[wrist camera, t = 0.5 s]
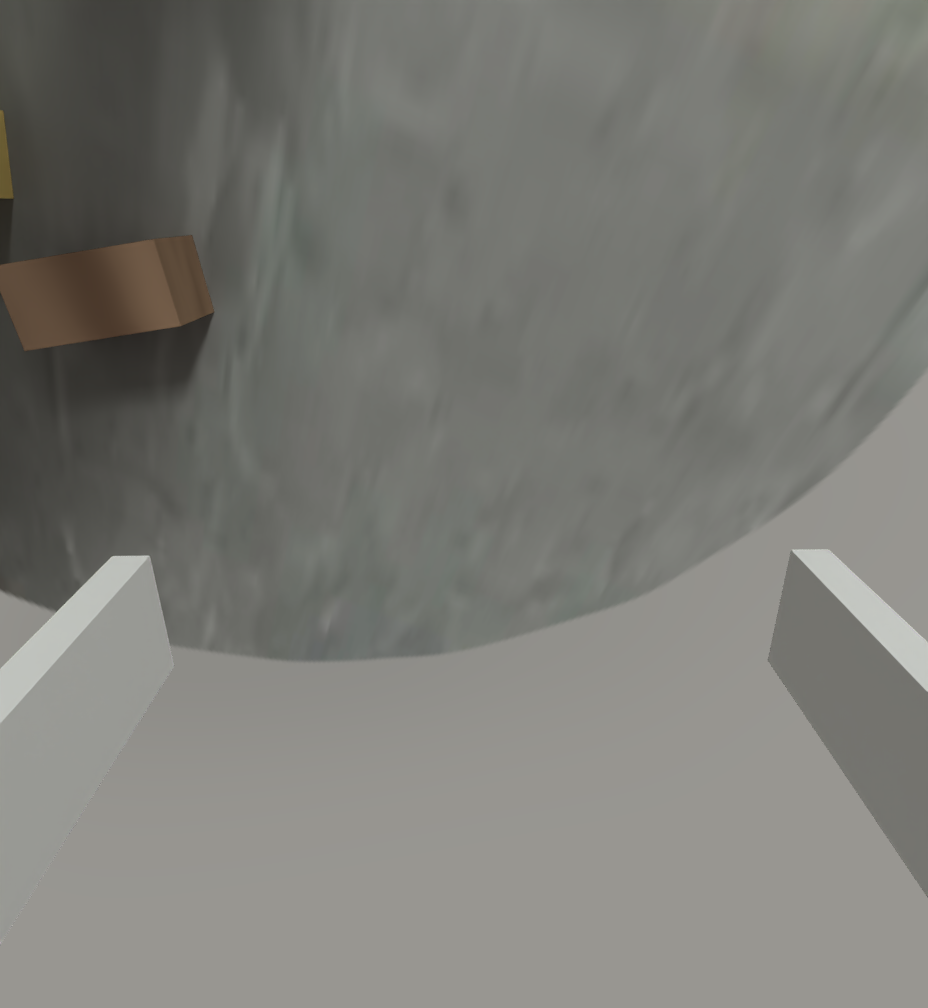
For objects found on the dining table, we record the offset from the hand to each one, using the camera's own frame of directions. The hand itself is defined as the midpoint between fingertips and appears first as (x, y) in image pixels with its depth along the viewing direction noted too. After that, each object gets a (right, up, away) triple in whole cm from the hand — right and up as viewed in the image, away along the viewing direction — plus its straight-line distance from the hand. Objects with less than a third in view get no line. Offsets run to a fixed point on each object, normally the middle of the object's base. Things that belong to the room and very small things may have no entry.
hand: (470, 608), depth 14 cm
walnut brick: (-18, +14, +23) cm, 32 cm away
